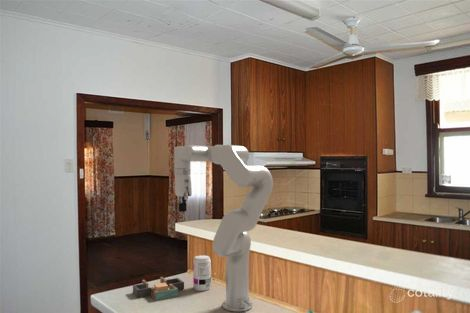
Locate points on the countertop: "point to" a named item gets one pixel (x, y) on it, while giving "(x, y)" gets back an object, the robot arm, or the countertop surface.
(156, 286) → the block
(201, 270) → the supplement can
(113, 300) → the countertop surface
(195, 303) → the countertop surface
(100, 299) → the countertop surface
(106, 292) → the countertop surface
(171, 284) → the trap channel
